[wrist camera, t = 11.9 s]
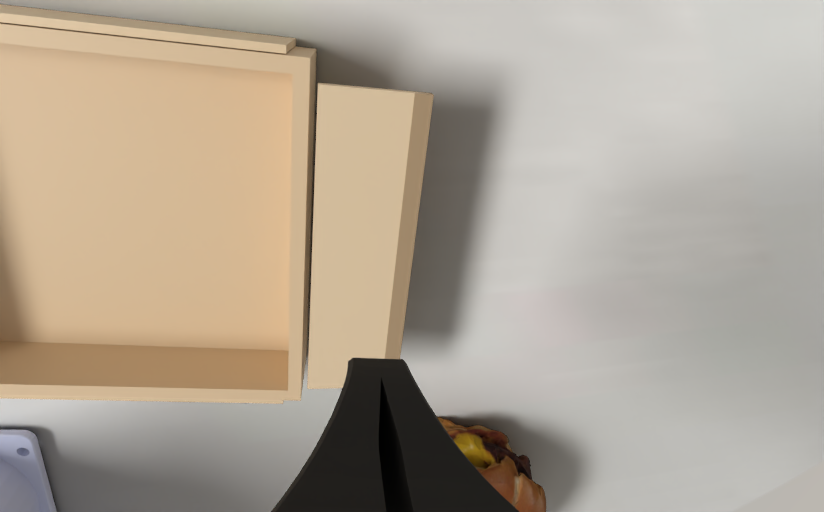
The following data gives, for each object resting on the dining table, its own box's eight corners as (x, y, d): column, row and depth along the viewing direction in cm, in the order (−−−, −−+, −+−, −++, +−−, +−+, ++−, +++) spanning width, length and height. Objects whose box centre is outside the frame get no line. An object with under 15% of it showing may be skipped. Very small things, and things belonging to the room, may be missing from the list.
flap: (307, 383, 21) (394, 381, 22) (307, 389, 21) (396, 387, 21) (317, 82, 16) (431, 93, 17) (318, 84, 16) (433, 94, 16)
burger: (396, 556, 31) (403, 643, 27) (318, 457, 27) (312, 541, 23) (551, 494, 30) (583, 575, 26) (495, 382, 26) (522, 456, 22)
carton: (306, 359, 24) (300, 405, 21) (-35, 349, 22) (-89, 398, 19) (317, 40, 18) (310, 47, 15) (-149, -14, 16) (-250, -16, 13)
